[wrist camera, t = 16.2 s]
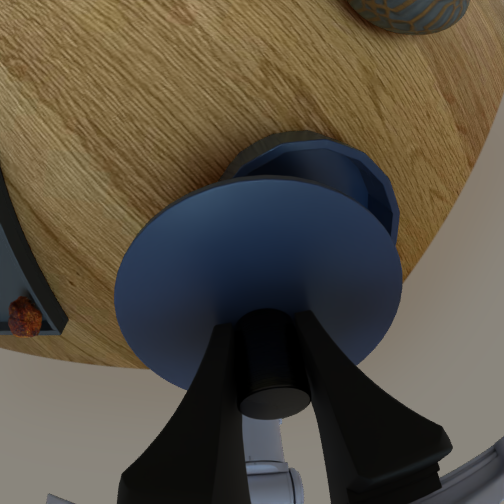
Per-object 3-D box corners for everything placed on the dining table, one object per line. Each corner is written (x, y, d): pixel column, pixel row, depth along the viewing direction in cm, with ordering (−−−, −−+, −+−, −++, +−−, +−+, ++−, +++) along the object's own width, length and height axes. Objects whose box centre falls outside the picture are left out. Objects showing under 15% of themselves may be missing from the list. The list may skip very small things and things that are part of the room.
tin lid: (372, 362, 15) (398, 426, 11) (174, 393, 15) (168, 461, 11) (403, 154, 9) (492, 203, 5) (78, 208, 9) (8, 281, 5)
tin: (367, 268, 21) (387, 298, 18) (229, 291, 21) (229, 327, 18) (372, 126, 16) (403, 136, 12) (196, 145, 16) (187, 158, 13)
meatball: (53, 316, 21) (36, 347, 18) (30, 317, 21) (13, 345, 18) (35, 286, 19) (15, 315, 16) (13, 288, 19) (-7, 316, 16)
